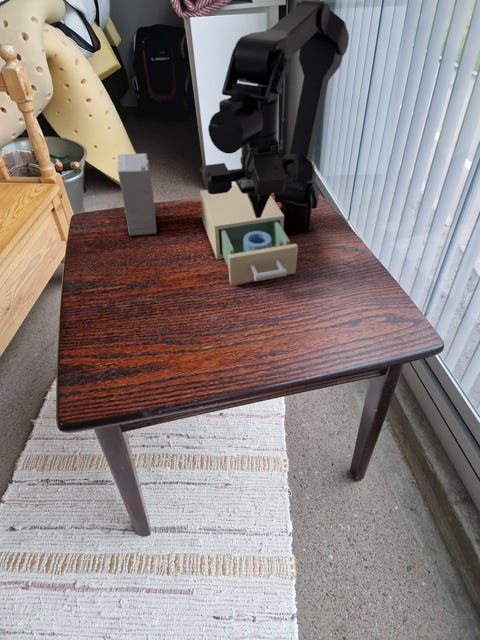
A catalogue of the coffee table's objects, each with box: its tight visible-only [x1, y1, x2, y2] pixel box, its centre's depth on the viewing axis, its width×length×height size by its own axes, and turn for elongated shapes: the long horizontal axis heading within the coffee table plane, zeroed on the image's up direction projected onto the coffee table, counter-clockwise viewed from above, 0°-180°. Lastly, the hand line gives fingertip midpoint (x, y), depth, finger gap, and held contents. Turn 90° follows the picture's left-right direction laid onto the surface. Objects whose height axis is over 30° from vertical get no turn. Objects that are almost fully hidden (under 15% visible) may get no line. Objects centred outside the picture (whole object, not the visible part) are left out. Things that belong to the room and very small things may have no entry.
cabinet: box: [199, 185, 284, 260], centre depth 93 cm, size 16×15×8 cm
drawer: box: [219, 220, 299, 285], centre depth 84 cm, size 19×13×6 cm
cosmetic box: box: [117, 153, 157, 237], centre depth 94 cm, size 8×7×16 cm
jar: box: [243, 231, 272, 252], centre depth 84 cm, size 5×6×5 cm
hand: (257, 217), depth 78 cm, fingers closed
